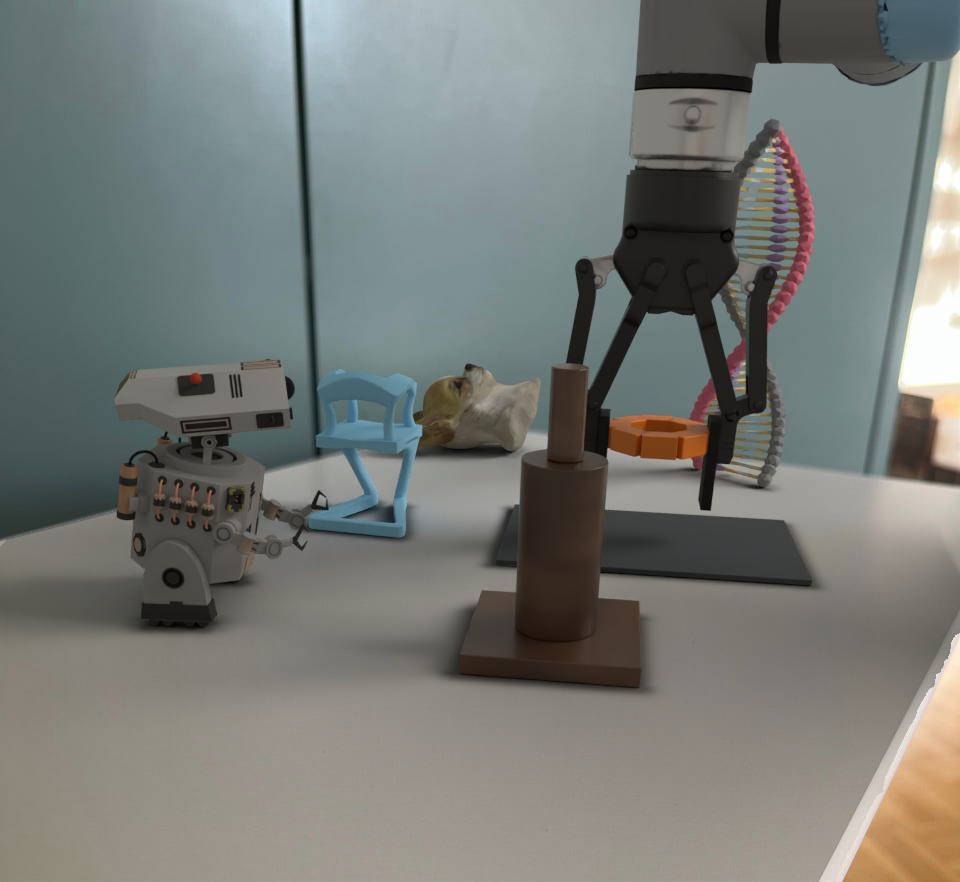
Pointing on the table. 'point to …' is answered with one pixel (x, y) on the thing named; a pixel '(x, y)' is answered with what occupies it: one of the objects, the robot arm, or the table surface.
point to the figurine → (201, 481)
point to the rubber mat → (689, 547)
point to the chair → (368, 445)
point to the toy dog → (477, 411)
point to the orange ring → (658, 437)
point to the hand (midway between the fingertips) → (651, 501)
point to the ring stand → (558, 567)
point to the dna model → (782, 298)
